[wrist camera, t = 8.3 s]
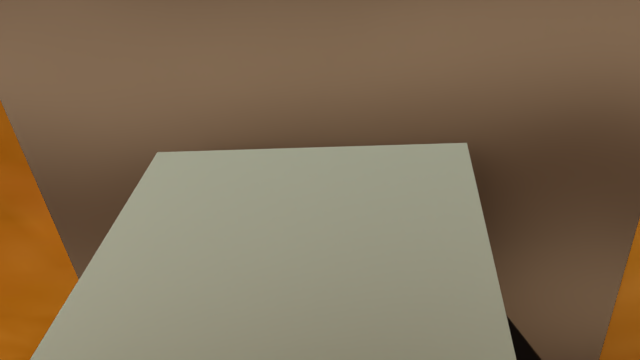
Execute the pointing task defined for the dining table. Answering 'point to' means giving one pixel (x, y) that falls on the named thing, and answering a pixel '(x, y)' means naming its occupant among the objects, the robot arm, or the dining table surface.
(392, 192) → the sage block
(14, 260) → the dining table surface
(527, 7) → the walnut block
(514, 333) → the robot arm
